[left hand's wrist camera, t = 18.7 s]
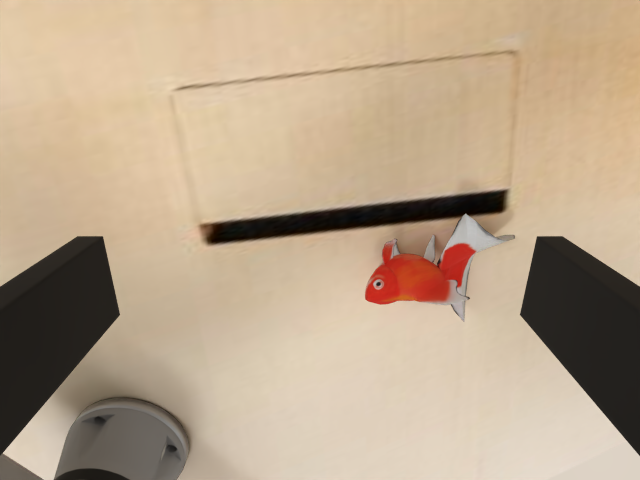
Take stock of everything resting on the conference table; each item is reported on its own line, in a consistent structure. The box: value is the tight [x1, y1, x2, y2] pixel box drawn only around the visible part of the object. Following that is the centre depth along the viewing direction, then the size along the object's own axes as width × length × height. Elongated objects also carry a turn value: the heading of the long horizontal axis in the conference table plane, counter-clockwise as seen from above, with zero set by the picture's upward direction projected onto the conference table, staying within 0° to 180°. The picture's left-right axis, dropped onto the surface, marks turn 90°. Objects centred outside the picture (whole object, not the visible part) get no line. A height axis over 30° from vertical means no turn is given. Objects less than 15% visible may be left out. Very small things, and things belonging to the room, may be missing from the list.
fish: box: [365, 214, 515, 321], centre depth 40 cm, size 11×16×10 cm
